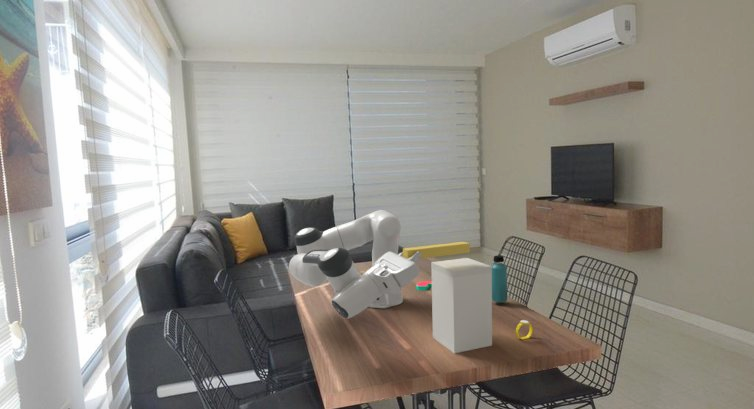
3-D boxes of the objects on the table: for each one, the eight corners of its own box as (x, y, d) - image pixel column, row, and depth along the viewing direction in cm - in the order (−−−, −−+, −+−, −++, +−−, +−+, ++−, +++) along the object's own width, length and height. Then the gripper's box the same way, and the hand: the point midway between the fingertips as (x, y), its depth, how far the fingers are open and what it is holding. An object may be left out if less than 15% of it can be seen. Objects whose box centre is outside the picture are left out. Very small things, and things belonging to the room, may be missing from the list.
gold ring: (528, 336, 151) (529, 319, 151) (533, 339, 148) (535, 321, 148) (513, 338, 149) (514, 320, 148) (519, 341, 146) (520, 323, 146)
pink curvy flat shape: (445, 280, 224) (445, 275, 224) (461, 288, 209) (461, 283, 209) (408, 284, 218) (408, 280, 218) (421, 293, 203) (421, 288, 203)
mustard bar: (407, 260, 136) (407, 250, 136) (402, 257, 139) (402, 248, 139) (469, 252, 144) (469, 243, 144) (463, 250, 147) (463, 241, 147)
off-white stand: (454, 353, 139) (453, 271, 136) (432, 337, 152) (431, 262, 149) (492, 345, 144) (491, 266, 141) (468, 330, 157) (467, 257, 154)
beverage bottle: (508, 306, 181) (508, 257, 179) (491, 305, 182) (490, 257, 180) (506, 301, 187) (506, 254, 185) (490, 300, 189) (490, 254, 187)
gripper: (373, 278, 146) (406, 253, 149) (399, 295, 127) (436, 266, 130) (364, 262, 144) (397, 238, 148) (388, 277, 125) (426, 249, 129)
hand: (416, 251), depth 139 cm, fingers closed on mustard bar, 3 cm apart
